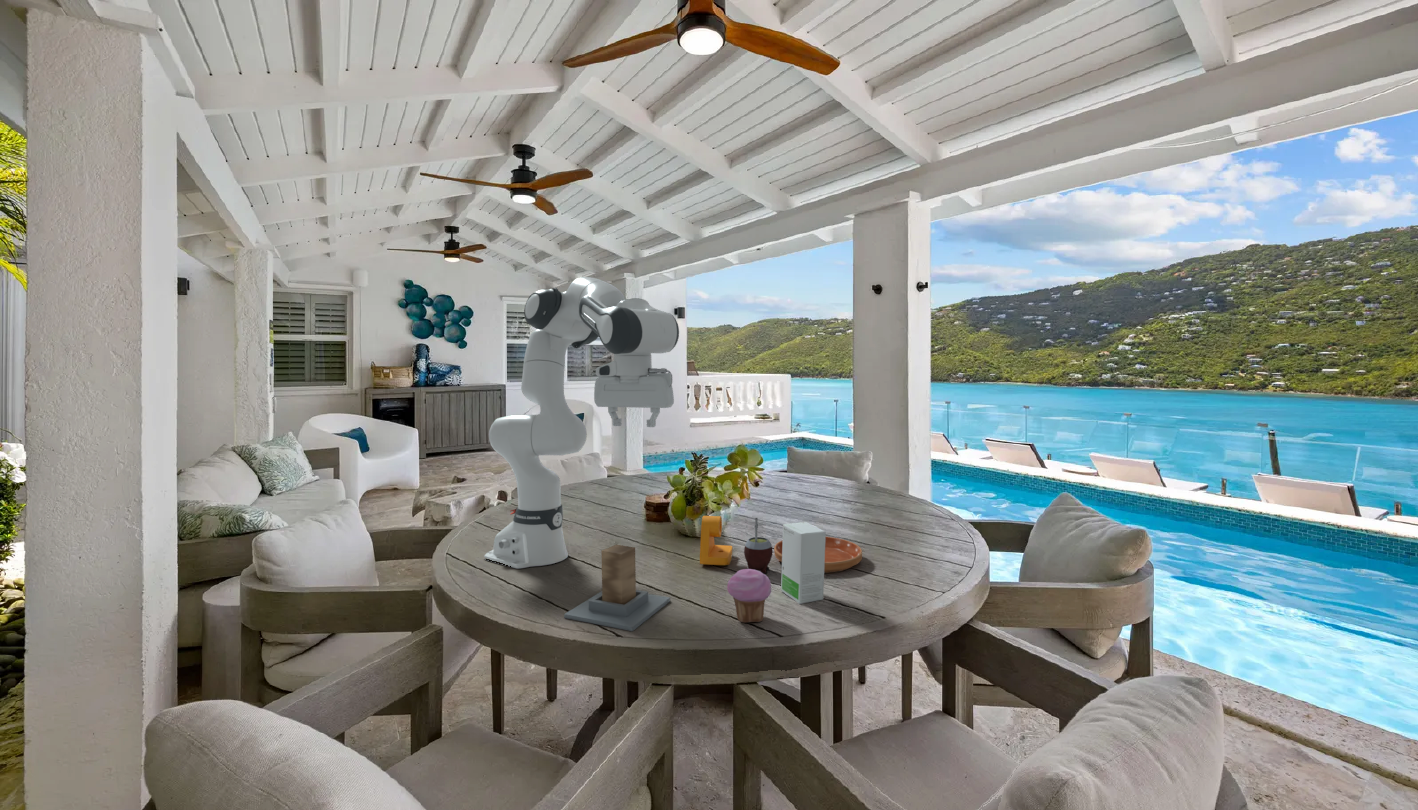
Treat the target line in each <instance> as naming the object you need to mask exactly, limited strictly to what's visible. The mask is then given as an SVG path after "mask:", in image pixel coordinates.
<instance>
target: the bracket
mask: <svg viewBox="0 0 1418 810" xmlns="http://www.w3.org/2000/svg"><path fill="white" fill-rule="evenodd" d="M722 522H723V518H722V516H720V515H719V516H717V515H703V516H702V517H701V523H700V524H701V525H700V527H701V528H700V544H699V545H700V546H699V549H700V550H699V565H708V566H709V565H711V566H713V565H714V566H729V565H730V564H731V561H732V556H733V546H732V545H723V544H716V543H715V538H721V536H722V530H723V523H722Z"/></svg>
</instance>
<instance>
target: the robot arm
mask: <svg viewBox="0 0 1418 810" xmlns="http://www.w3.org/2000/svg"><path fill="white" fill-rule="evenodd" d="M523 311H524V312H523V313H524V314H523V315H524V319H525V321H526V323H527V324H528V325H529V326H531V327H532V328H535V330H533V331H532V332H531V334H530V335H529V338H528V341H527V344H526V347H525V348H526V349H525V353H524V358H523V365H522V377H521V388H520V389H521V392H522V395H523V397H524V398H526V399H527V400H528V401H530V402H532V403H533V404H536V405H538V406H539V407H540V409H539V410H540V412H539V414H512V415H507V416H506V415H505V416H502V417H498V418H495V420H494V421H493V422H492V423H491V425H490V428H489V431H488V440H489V441H488V442H489V444H490V446H491V448H492V449H493V451H495V452H496V453H497V454H498V455H500V456H501V457H502V458H504V460H505V461H506V462H507V463H508V464H509V466H510V468H511V470H512V472H513V474H514V477H515V481H516V489H517V504H518V506H517V507H516V508H513V509H511V510H510V512H511V513H509V515H510V516H511V515H513V518H512V521H511V522H510V523H508V524H507V526H505V527H504V528H503V529H501V530H500V531H499V532H498V533H497V534H496V535H495V537H494V541H493V548H492V550H490V551H487V552H486V553H485V554H484V555H483V556H484V557H485V558H487V559H490V560H492V561H497V562H500V563H503V564H505V565H504V566H506V565H508V566H507V567H510V566H511V567H510V568H513V569H525V568H529V567H541V566H547V565H552V564H555V563H559V562H562V561H564V560H565V559H567V558H568V557H569V553H568V551H567V546H566V543H565V542H566V541H565V538H564V537H565V535H564V532H563V531H564V529H563V518H564V514H563V513H564V511H563V510H564V509H563V504H562V499H561V498H562V497H561V496H562V495H561V490H562V489H561V478H560V476H559V475H558V474H557V473H556V471H554V470H552V469H550V468H549V467H546V466H545V465H544V464H543V463H542V462H541V460H540V457H539V456H564V455H571V454H575V453H579V452H580V451H581V450H582V449H583V448H584V446H585V444H586V443H587V442H586V441H587V438H588V434H587V428H586V426H585V423H584V422H583V421H582V419H581V418H579V416H577V415H576V414H575V413H574V412H573V411H572V410H571V408H570V407H569V405H568V402H567V400H566V398H565V397H566V396H565V371H566V370H565V367H566V366H565V365H566V353H567V351H568V348H569V347H570V346H572V347H573V348H574V349H580V348H582V346H586V345H589V344H591V343H593V342H595V341H596V340H597V339H598V338H599V340H600V341H601V343H602V345H603V347H604V348H605V349H606V350H607V351H608V352H610V353H611V354H613V360H612V361H610V362H608V363H606V364H604V365H600V366H598V367H596V368H595V374H596V376H597V378H596V380H595V381H594V389H593V390H594V392H593V393H594V394H593V396H594V397H593V399H594V404H595V405H596V407H598V408H607V410H608V411H607V413H608V414H609V416H610V418H611V419H612V426H613V427H620V426H622V418H620V417H619V416H618V413H617V412H618V411H619V410H618V408H639V409H640V408H644V409H645V408H647V409H648V408H649V409H650V413H651V416H650V418H649V419H646V428H655V427H656V423H657V422H656V421H657V418H658V417H659V415H660V413H661V409H666V408H667V409H669V408H672V406H673V405H674V402H675V398H674V389H673V374H672V372H671V371H670V370H668V369H667V368H666V367H662V368H653V367H652V366H653V365H652V354H664V353H665V354H666V353H670V352H671V351H672V350H674V348H675V347H676V345H677V344H678V342H679V338H680V326H679V323H678V320H677V319H676V317H675V316H674V315H673V314H671V313H670V312H667V311H663V310H661V309H657V308H655V307H653V306H652V305H650V303H649V301H647V300H646V299H644V298H635V297H634V298H627V299H626V298H625V295H624V294H623V292H622V291H621V290H620V289H619V288H617V287H616V286H615V285H613V284H612V283H609V282H607V281H604V280H602V279H599V278H596V277H590V276H581V277H577V278H575V279H574V280H573V281H572V282H571V283H570V284H569V286H568V288H567V290H566V291H559V288H557V287H553V288H550V289H539V290H537V291H534V292H532V293H531V295H530V296H528V298H527V300H526V303H525V305H524V310H523ZM484 557H483V558H484ZM492 561H491V562H492ZM503 564H502V565H503Z"/></svg>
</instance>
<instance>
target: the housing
mask: <svg viewBox="0 0 1418 810" xmlns="http://www.w3.org/2000/svg"><path fill="white" fill-rule="evenodd" d="M670 602H671V597H670V596H664V595H657V594H650V593H649V591H646V590H641V589H640V590H638V589H636V597H635V598H634V599H632V600H631V601H629V602H628V603H626V604H625V605H623V604H617V603H611V602H606V601H602V590H601V591H600V592H598V593H596V594H595V595H593V596H592V597H589V598H588V599H587V600H585V601H584V602H582V603H580V604H578V605H576V606H575V607H574V608H572V609H570V610H569V611H567V612H565V613H564V619H568V620H573V621H579V622H584V623H589V624H593V625H599V626H603V627H604V626H605V627H609V628H613V629H620V630H624V631H629V632H634V630H636V629H637V628H638V627H640V626H641V625H642V624H644V623H645V622H646V621H647V620H649V619H650V618H651V617H652V616H653V615H654V614H656V613H657V612H659V611H660V610H661V609H662V608H663V607H665V606H666V605H667V604H669V603H670Z"/></svg>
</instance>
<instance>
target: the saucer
mask: <svg viewBox="0 0 1418 810" xmlns="http://www.w3.org/2000/svg"><path fill="white" fill-rule="evenodd" d="M782 542H783V539H782V540H780V541H778V542H777V543H775V545H774V551H773V554H774V556H775V559H777V560H778V561H780V562H781V563H782ZM862 560H863V550H862V548H861V547H860V546H859V545H858V544H856V543H854V542H852V541H849V540H846V539H843V538H839V537H838V538H837V537H833V536H826V537H825V564H824V574H825V573H827V574H828V573H838V572H843V571H846V570H848V569H851V568H852V567H854V566H856V565H858V564H859V563H860V562H861V561H862Z"/></svg>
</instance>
